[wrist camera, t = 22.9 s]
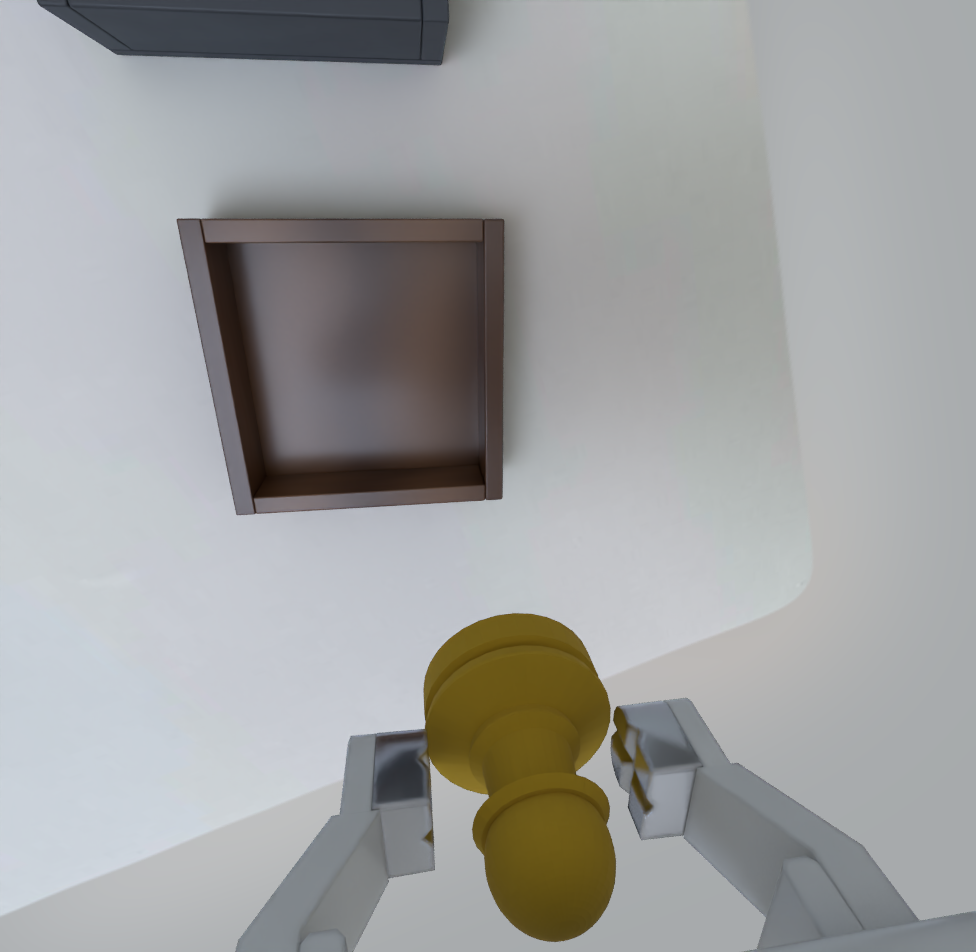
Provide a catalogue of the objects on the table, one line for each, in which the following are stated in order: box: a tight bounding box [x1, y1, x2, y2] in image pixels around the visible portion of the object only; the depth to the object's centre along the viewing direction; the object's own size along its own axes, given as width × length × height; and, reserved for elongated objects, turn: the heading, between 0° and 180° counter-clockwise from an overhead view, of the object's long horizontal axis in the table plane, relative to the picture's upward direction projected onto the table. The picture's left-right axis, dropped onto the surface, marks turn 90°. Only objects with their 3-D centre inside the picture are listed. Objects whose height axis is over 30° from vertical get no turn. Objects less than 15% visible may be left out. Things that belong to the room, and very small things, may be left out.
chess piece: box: [424, 613, 616, 942], centre depth 10 cm, size 4×4×5 cm
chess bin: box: [177, 219, 504, 515], centre depth 24 cm, size 12×12×3 cm
